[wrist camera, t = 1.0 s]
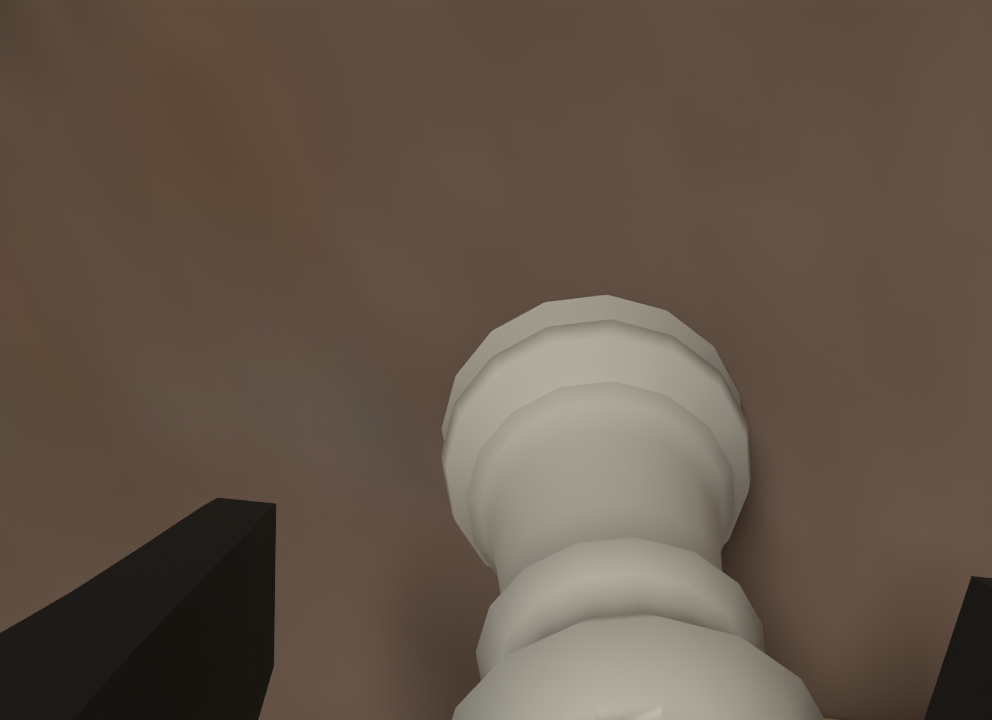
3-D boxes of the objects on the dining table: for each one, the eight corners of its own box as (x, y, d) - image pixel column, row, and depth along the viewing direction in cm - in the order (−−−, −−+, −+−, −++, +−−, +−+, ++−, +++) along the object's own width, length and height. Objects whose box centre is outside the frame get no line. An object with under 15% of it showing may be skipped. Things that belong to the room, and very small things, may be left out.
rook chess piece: (795, 365, 14) (1102, 790, 6) (647, 592, 15) (752, 1153, 8) (524, 232, 13) (507, 525, 6) (398, 481, 15) (256, 969, 7)
